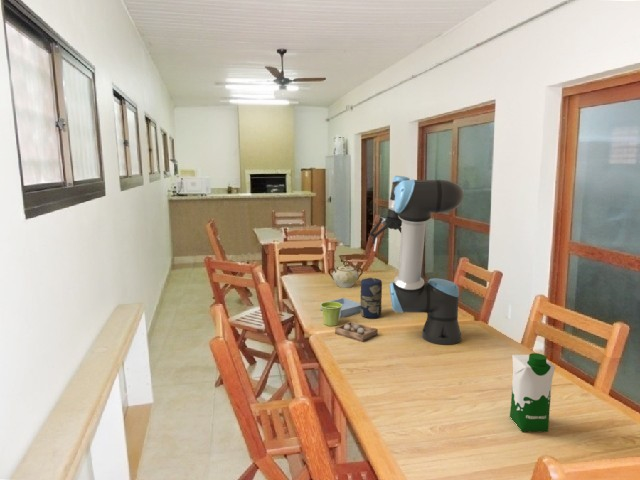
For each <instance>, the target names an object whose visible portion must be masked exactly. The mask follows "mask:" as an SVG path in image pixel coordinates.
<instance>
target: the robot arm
mask: <svg viewBox="0 0 640 480" xmlns="http://www.w3.org/2000/svg"><path fill="white" fill-rule="evenodd" d="M391 182H392V183H391V184H392V185H391V192H390V198H389V201H388V209H387V213H386V214H387V215H386V217H385V218H384V217H382V216H381V217H379V220H378V222H377V224H376V225H375V226H374V227H373V229H372V230H371V232H370V233H369V236H371V237H372V245H373V252H376V250H377V243H378V237H379V235H380V234H382V233H383V232H384V231H385V230H387V229H389V230H390V229H391V230H392V229H393V230H395V231H396V230H398V231H399V232H400V246H399V248H400V249H399V260H398V261H399V262H398V263H399V264H398V274H397V275H395V277H394V278H393V282H390V283H389V293H390V301H391V307H392V310H393V311H394V312H395V313H403V314H406V313H416V314H417V313H418V314H420V313H421V314H425V313H426V316H427V317H426V321H425V323H424V326H423V328H422V330H421V332H422V333H421V336H422V338H423V339H424V340H425V341H427V342H430V343H432V344H435V345H436V344H437V345H443V346H444V345H445V346H446V345H455V344H458V343H460V342H461V341H462V332H461V329H460V325H459V321H458V315H459V299H460V291H459V286H458V284H457V283H455V282H453V281H450V280H447V279H444V278H443V279H442V278H435V277H434V278H430V279H428V281H427V282H425V280H424V278H423V277H422V269H423V268H422V267H423V259H424V258H423V257H424V249H425V248H424V247H425V237H426V236H425V235H426V224H427V222H429V221H430V220H431V218H432V217H431V216H432V214H440V213H448V212H450V211H454V210H455V209H457V208H458V207H459V206H460V205H461V204H462V203H463V200H464V194H465V193H464V190H463V188H462V187H461V185H460V184H458V183H457V182H454V181H450V180H447V179H446V180H445V179H412V178H411V179H410V178H409V176H408V177H407V176H402V175H395V176H393V180H392V181H391ZM384 222H385V225H384V226H383V227H382V228H380V229H379V230H378V231H377V229H378V228H379V227H380V226H381V224H382V223H384ZM376 231H377V232H376ZM375 232H376V233H375Z"/></svg>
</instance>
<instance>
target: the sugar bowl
mask: <svg viewBox="0 0 640 480" xmlns="http://www.w3.org/2000/svg"><path fill="white" fill-rule="evenodd" d="M345 263H347V264H345ZM332 270H333V271H332ZM331 271H332V273H331ZM359 271H360V273H359ZM328 274H329V276H330V277H331V279H332V280H333V281H334V283H336V285H337V287H339V288H344V289H348V288H352V287H354V285H356V282H357V281H358V280H359V278H360V277H361V276H362V275H363V269H362V267H357V268H355V267H354V266H351V265H350V261H349V260H348V259H347V260H346V259H345V260H344V261H343V263H342V265H340V266H337V267H336V268H334V267H330V268H329V269H328Z"/></svg>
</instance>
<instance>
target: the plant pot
mask: <svg viewBox="0 0 640 480" xmlns="http://www.w3.org/2000/svg"><path fill="white" fill-rule="evenodd" d="M323 302H324V303H323ZM323 302H321V303H322V304H321V307H322V311H321V312H322V317H323V318H322V319H323V324H324V325H325V326H327V327H334V326H337V325H338V326H339V320H340V318H339V314H340V310H341V307H342V304H341V303H338V302H327V301H323Z"/></svg>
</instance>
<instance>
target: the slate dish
mask: <svg viewBox="0 0 640 480" xmlns="http://www.w3.org/2000/svg"><path fill="white" fill-rule="evenodd" d="M324 302H325V301H323V302H320V311H321V312H323V311H322V307H321V304H322V303H324ZM326 302H338V303H341V304H342V307H341V310H340V314H339V319H343V318H346V317H350V316H353V315H357V314H361V304H360V303H361V302H358V301H355V300H352V299H349V298H346V297H342V298H337V299H333V300H328V301H326ZM342 317H343V318H342Z"/></svg>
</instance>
